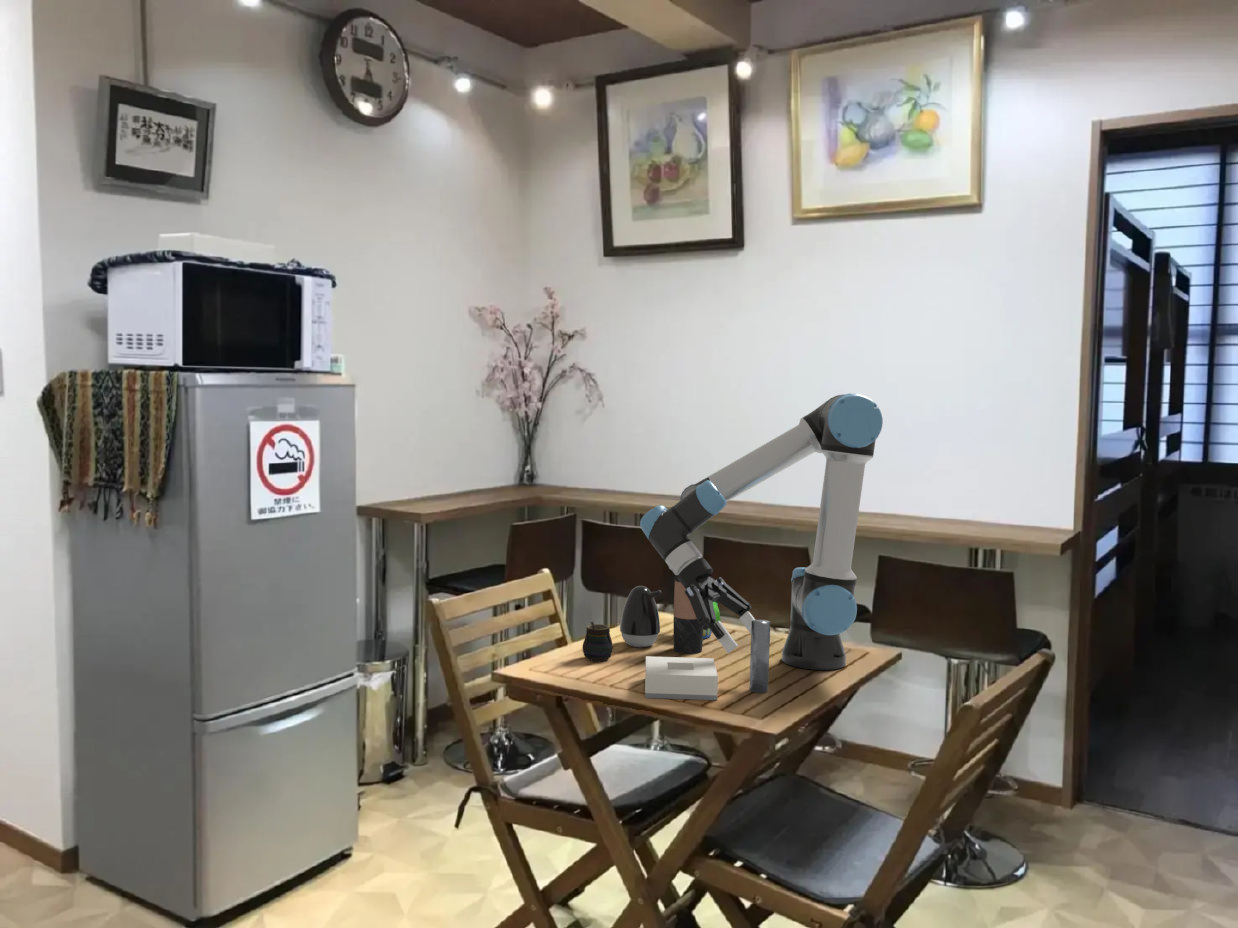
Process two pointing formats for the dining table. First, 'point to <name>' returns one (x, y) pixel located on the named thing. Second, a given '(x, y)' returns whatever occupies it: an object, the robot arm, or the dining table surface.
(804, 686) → the dining table surface
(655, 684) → the hole block
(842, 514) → the robot arm
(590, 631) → the mate gourd
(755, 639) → the pin
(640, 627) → the pump dispenser
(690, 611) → the travel mug
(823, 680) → the dining table surface
